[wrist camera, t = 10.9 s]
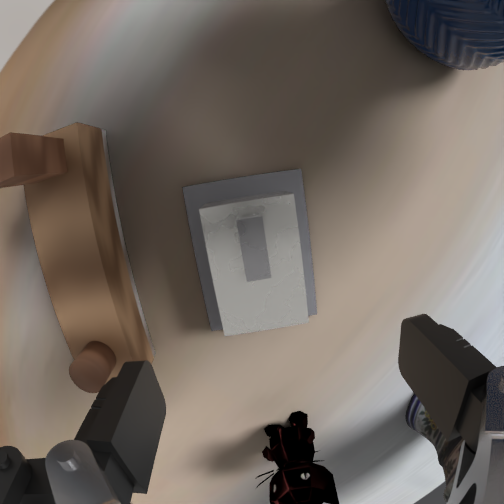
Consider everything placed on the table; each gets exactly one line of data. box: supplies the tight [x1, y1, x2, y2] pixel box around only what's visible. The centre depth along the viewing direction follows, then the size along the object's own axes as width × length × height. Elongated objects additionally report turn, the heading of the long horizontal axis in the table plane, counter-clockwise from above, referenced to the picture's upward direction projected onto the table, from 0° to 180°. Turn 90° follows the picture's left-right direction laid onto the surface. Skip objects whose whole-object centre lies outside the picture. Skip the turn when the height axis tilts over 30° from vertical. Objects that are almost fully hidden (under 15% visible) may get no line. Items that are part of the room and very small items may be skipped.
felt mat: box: [182, 169, 317, 331], centre depth 25 cm, size 12×9×1 cm
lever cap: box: [199, 190, 309, 336], centre depth 22 cm, size 9×6×5 cm, turn 9°
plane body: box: [0, 123, 156, 393], centre depth 19 cm, size 20×6×11 cm, turn 9°
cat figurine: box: [255, 411, 339, 504], centre depth 24 cm, size 7×7×12 cm
